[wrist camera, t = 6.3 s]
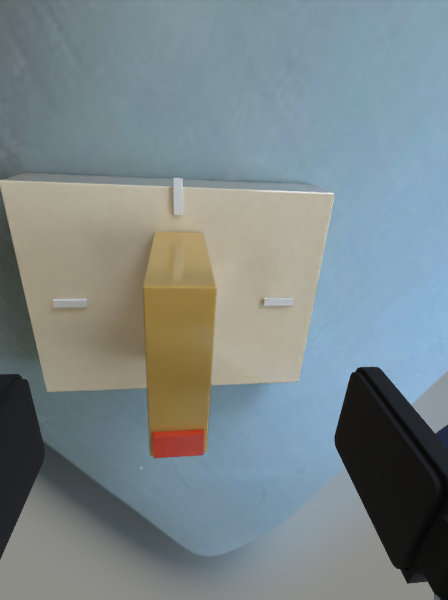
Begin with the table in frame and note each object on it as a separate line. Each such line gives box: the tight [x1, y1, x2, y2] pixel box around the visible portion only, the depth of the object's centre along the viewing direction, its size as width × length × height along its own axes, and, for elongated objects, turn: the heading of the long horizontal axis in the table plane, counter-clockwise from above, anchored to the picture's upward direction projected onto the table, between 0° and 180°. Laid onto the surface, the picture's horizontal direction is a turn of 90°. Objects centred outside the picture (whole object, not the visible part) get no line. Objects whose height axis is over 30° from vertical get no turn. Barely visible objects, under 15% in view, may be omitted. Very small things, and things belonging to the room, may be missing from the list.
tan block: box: [142, 231, 217, 458], centre depth 13 cm, size 6×2×6 cm, turn 176°
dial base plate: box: [0, 173, 335, 392], centre depth 16 cm, size 13×11×3 cm
